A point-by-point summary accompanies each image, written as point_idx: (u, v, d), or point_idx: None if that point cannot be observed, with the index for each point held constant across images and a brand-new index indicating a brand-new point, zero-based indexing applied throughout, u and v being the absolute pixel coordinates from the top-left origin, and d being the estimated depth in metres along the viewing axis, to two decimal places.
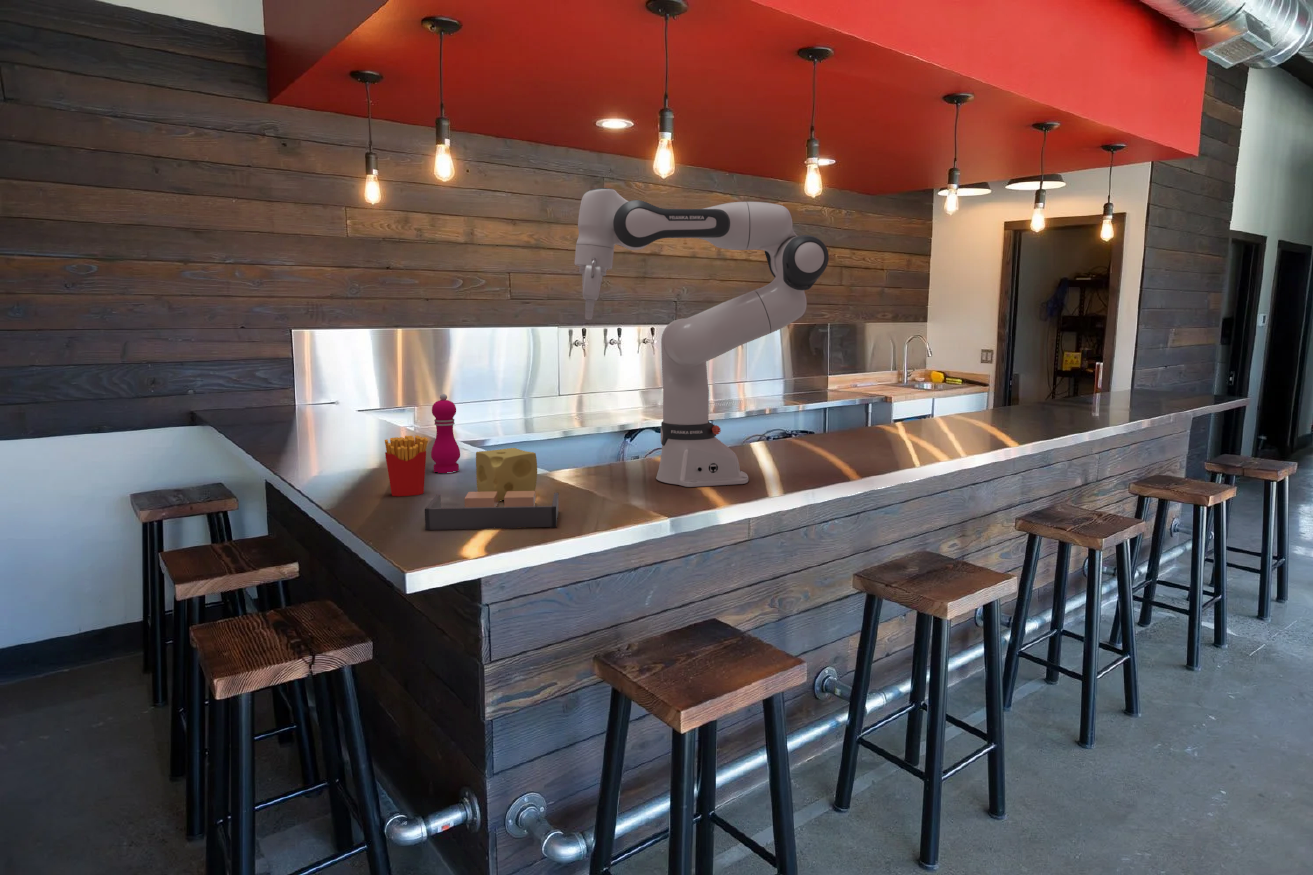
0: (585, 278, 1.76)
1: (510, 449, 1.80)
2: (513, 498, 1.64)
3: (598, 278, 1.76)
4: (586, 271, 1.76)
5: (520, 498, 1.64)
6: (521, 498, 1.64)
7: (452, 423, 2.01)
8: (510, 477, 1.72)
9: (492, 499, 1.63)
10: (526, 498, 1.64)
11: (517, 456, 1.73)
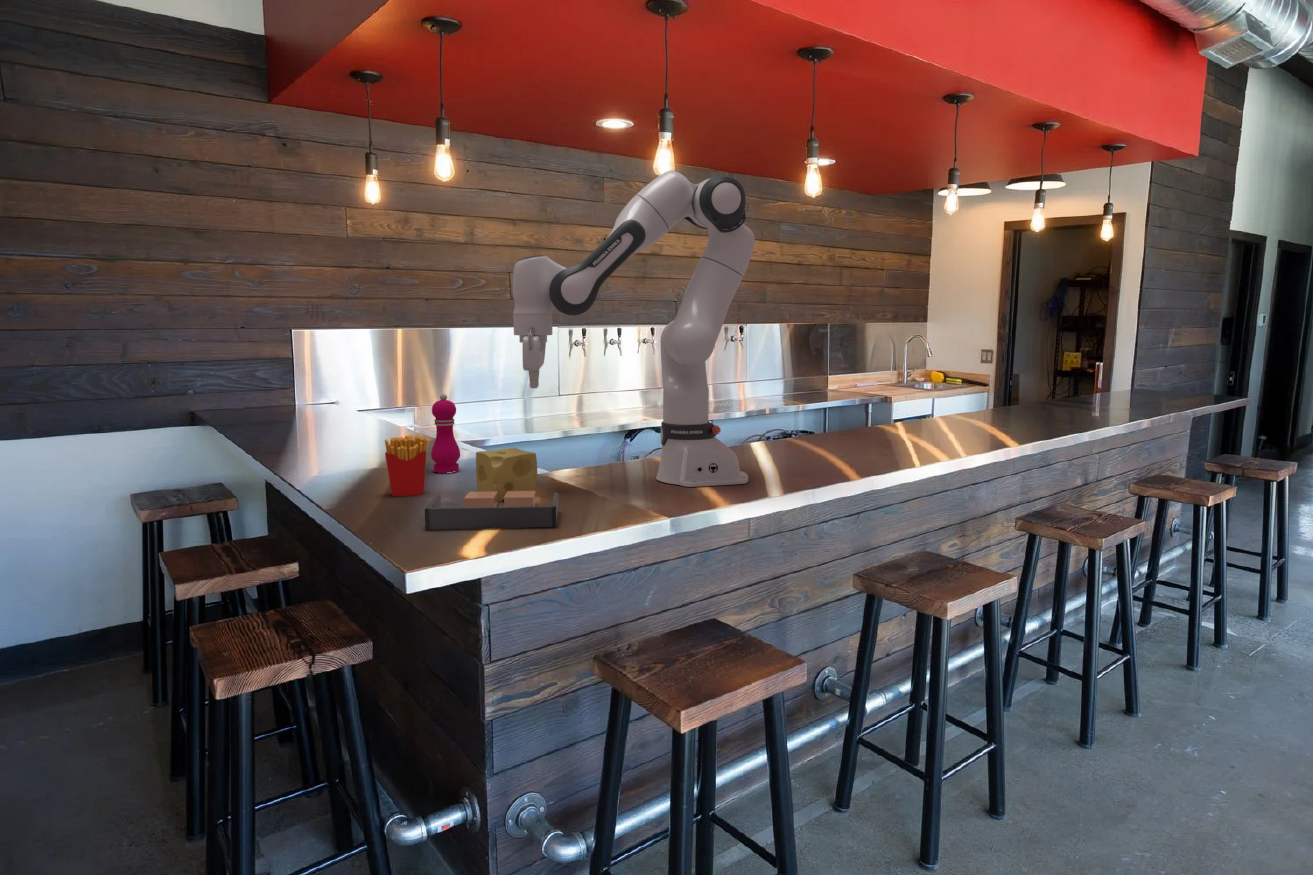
0: (523, 350, 1.73)
1: (510, 449, 1.80)
2: (513, 498, 1.64)
3: (536, 349, 1.74)
4: (524, 343, 1.73)
5: (520, 498, 1.64)
6: (521, 498, 1.64)
7: (452, 423, 2.01)
8: (510, 477, 1.72)
9: (492, 499, 1.63)
10: (526, 498, 1.64)
11: (517, 456, 1.73)
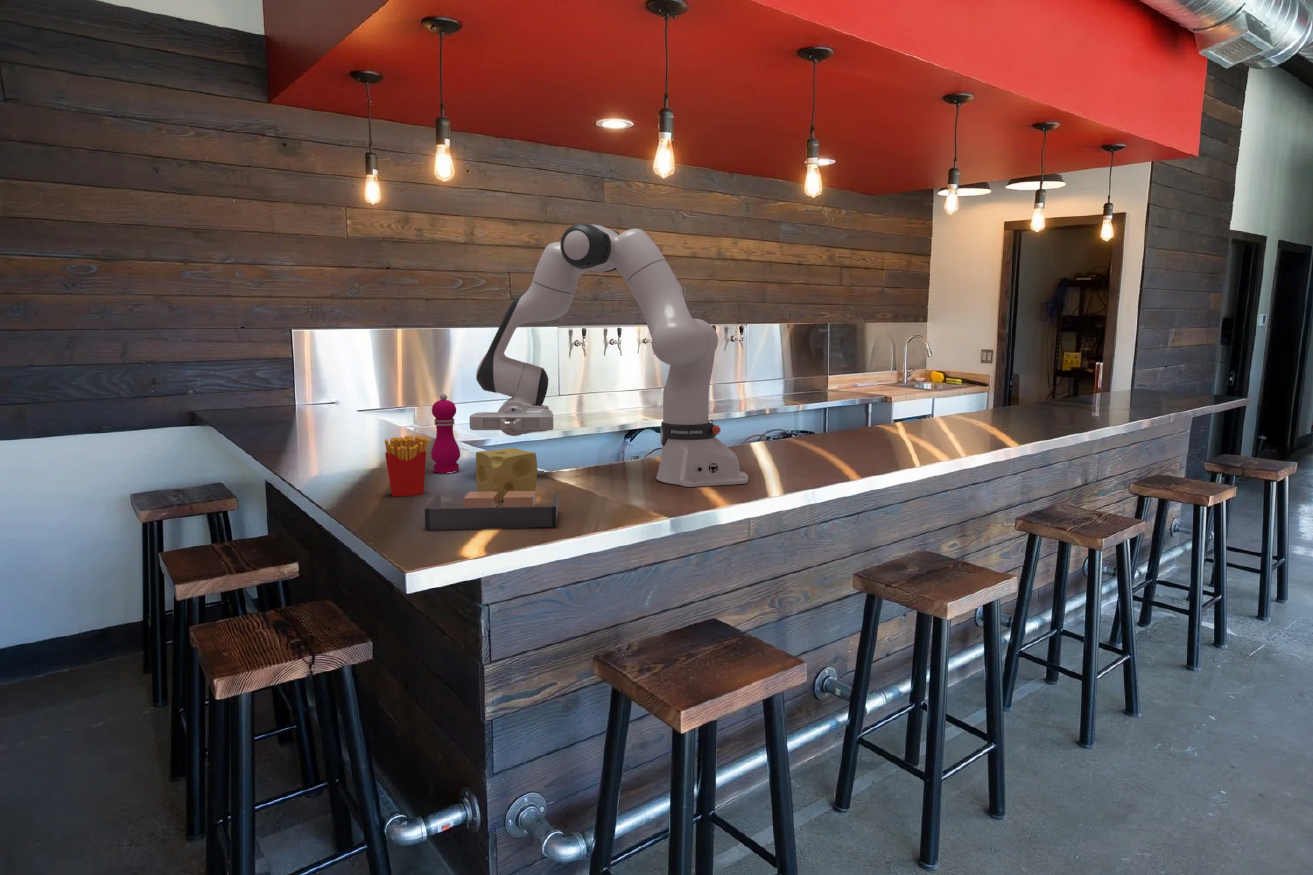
0: None
1: (510, 449, 1.80)
2: (512, 498, 1.64)
3: None
4: None
5: (519, 498, 1.64)
6: (520, 498, 1.64)
7: (452, 423, 2.01)
8: (510, 477, 1.72)
9: (491, 499, 1.63)
10: (525, 498, 1.64)
11: (517, 456, 1.73)
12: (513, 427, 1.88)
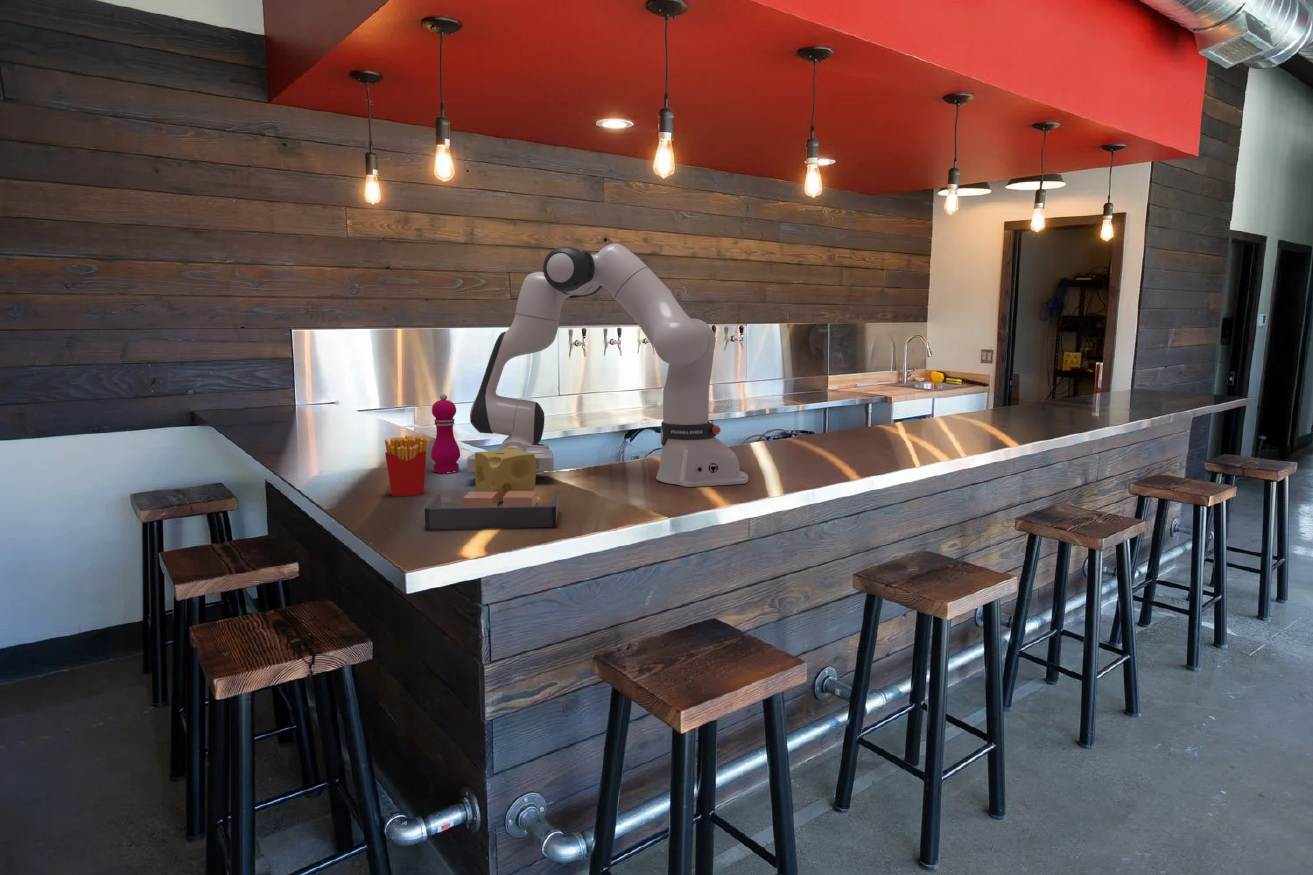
0: None
1: (509, 450, 1.79)
2: (512, 498, 1.64)
3: None
4: None
5: (519, 498, 1.64)
6: (520, 498, 1.64)
7: (452, 423, 2.01)
8: (509, 478, 1.71)
9: (490, 499, 1.63)
10: (524, 498, 1.64)
11: (515, 457, 1.71)
12: None
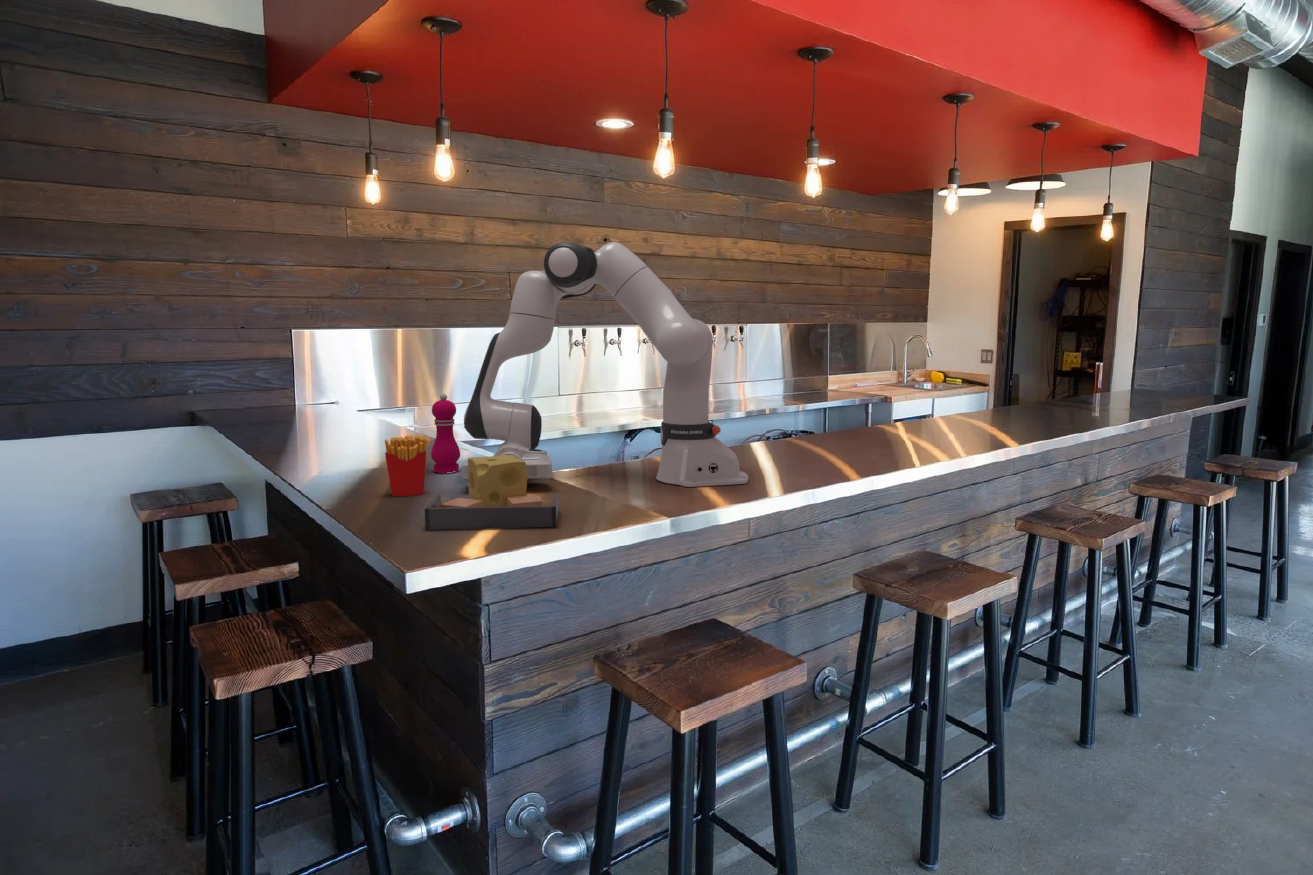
0: None
1: (505, 456, 1.71)
2: (522, 503, 1.59)
3: None
4: None
5: (529, 503, 1.59)
6: (530, 503, 1.59)
7: (452, 423, 2.01)
8: (496, 487, 1.63)
9: None
10: (535, 502, 1.60)
11: (504, 464, 1.63)
12: None
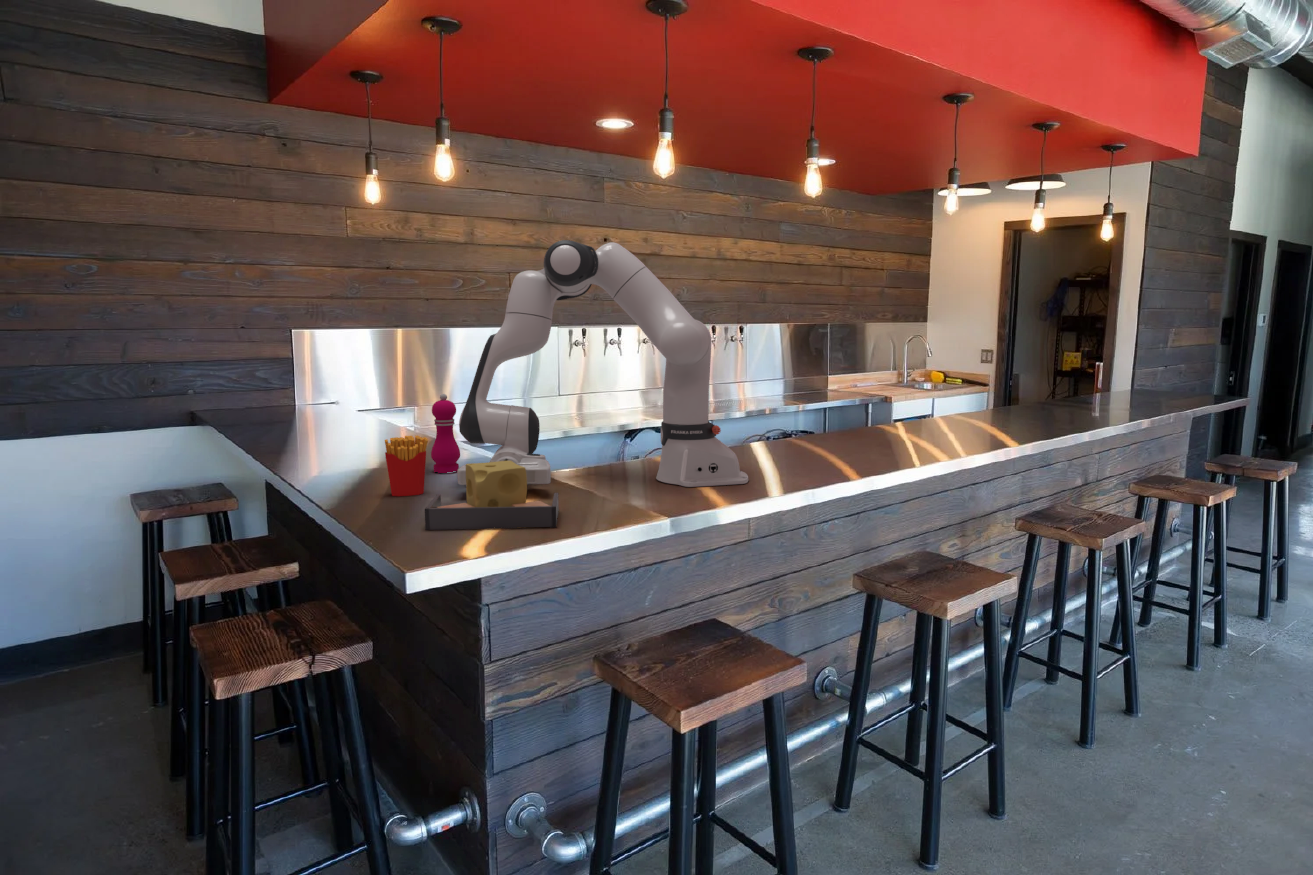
0: None
1: (504, 462, 1.65)
2: None
3: None
4: None
5: None
6: None
7: (452, 423, 2.01)
8: (495, 494, 1.57)
9: None
10: None
11: (503, 471, 1.57)
12: None
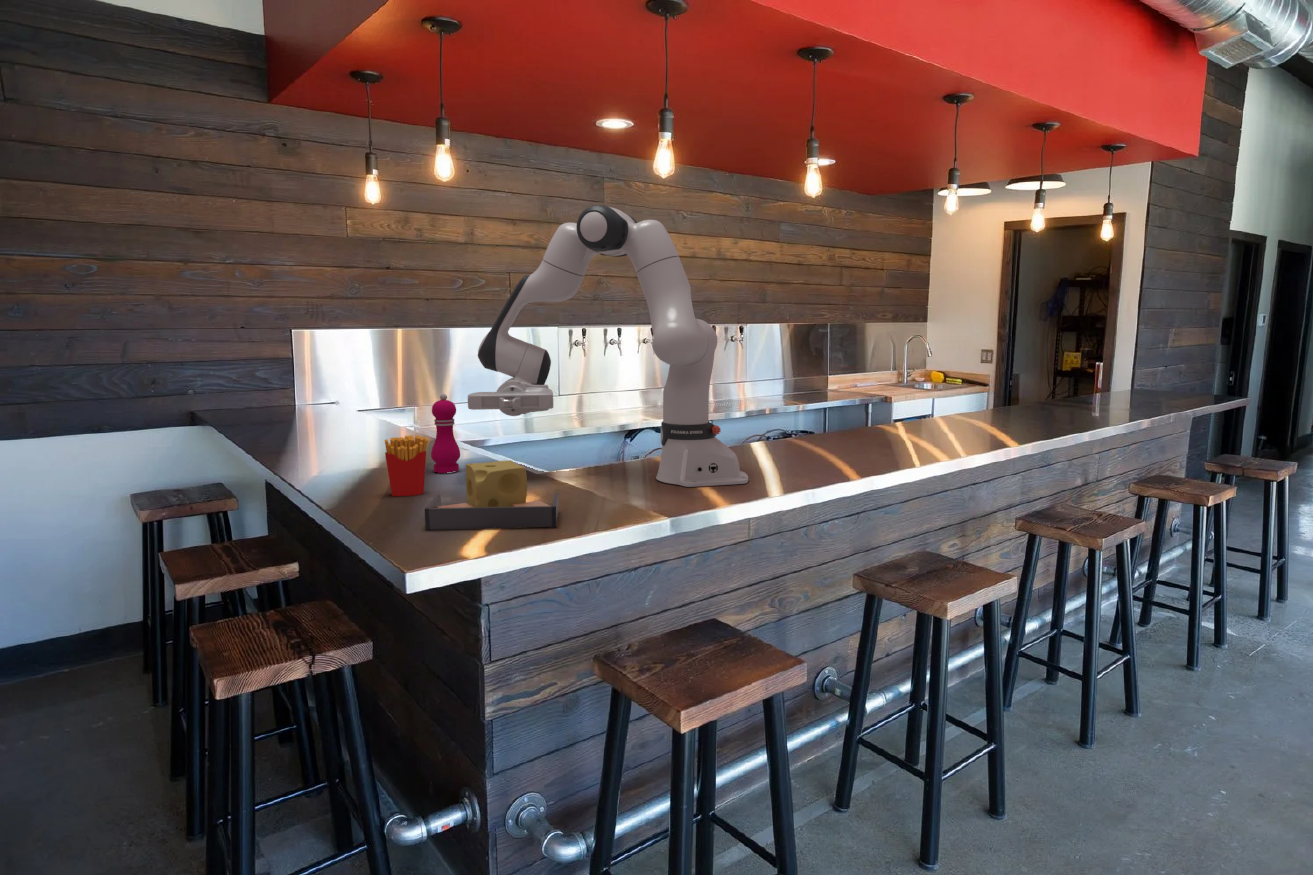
0: None
1: (504, 462, 1.65)
2: None
3: None
4: None
5: None
6: None
7: (452, 423, 2.01)
8: (495, 494, 1.57)
9: None
10: None
11: (503, 470, 1.57)
12: (512, 405, 1.84)
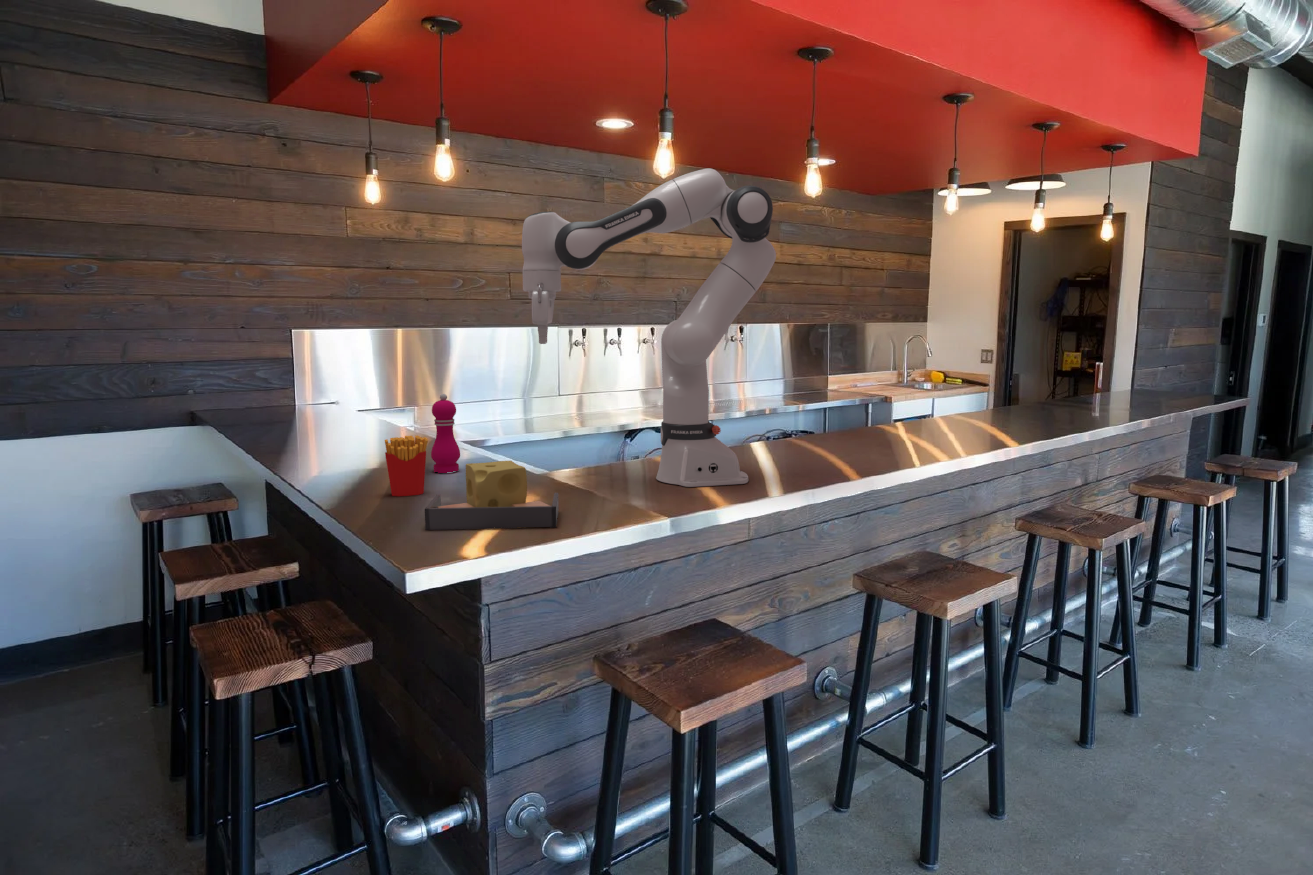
0: (533, 304, 1.76)
1: (504, 462, 1.65)
2: None
3: (546, 303, 1.76)
4: (533, 297, 1.76)
5: None
6: None
7: (452, 423, 2.01)
8: (495, 494, 1.57)
9: None
10: None
11: (503, 470, 1.57)
12: None
